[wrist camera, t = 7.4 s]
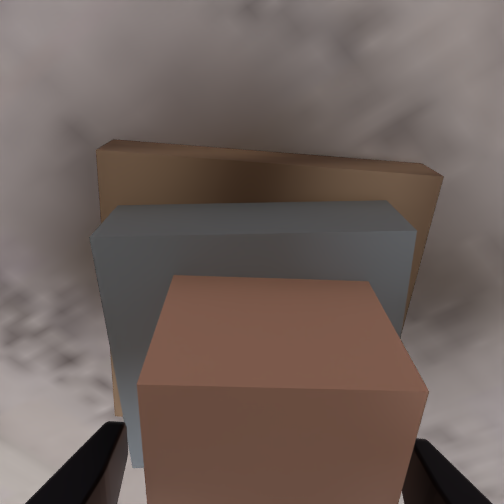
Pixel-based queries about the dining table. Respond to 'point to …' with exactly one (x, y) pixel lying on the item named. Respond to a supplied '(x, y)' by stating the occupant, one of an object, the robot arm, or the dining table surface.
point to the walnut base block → (260, 184)
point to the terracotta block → (276, 395)
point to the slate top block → (236, 263)
